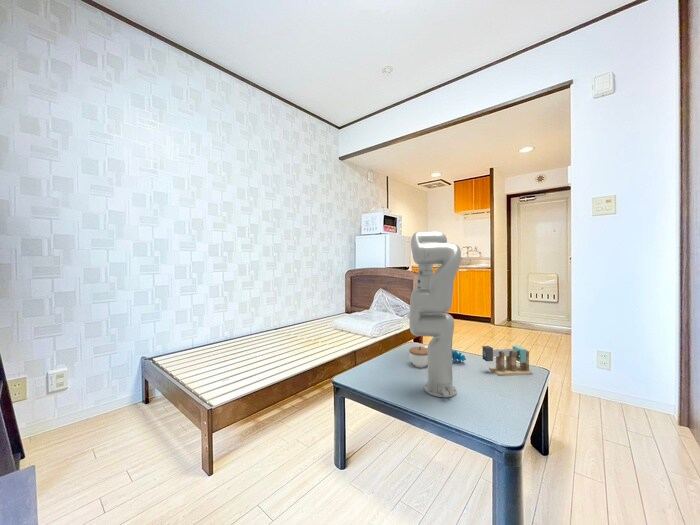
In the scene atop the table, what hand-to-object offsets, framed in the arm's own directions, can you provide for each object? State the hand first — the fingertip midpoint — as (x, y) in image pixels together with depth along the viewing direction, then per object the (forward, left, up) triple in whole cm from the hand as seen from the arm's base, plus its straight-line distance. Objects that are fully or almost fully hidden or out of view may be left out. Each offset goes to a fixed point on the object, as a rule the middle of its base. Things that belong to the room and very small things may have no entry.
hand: (426, 305), depth 153 cm
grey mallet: (-22, -30, -22) cm, 43 cm away
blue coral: (-7, -12, -29) cm, 32 cm away
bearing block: (-22, -32, -28) cm, 48 cm away
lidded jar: (-9, +7, -29) cm, 31 cm away
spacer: (-22, -37, -20) cm, 47 cm away
